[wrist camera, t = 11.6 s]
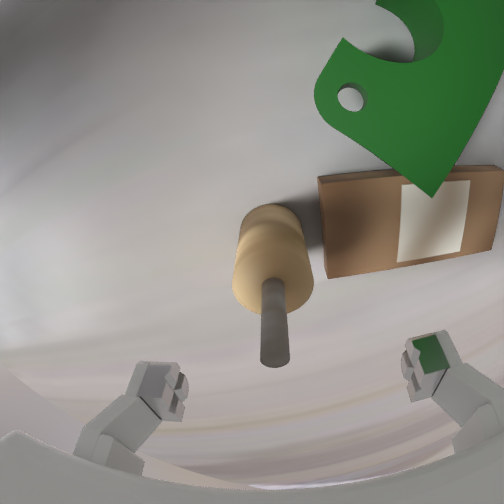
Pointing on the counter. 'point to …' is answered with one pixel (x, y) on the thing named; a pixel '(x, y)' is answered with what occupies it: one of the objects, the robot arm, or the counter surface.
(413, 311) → the counter surface
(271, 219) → the awl
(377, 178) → the bandage strip
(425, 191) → the clamp
